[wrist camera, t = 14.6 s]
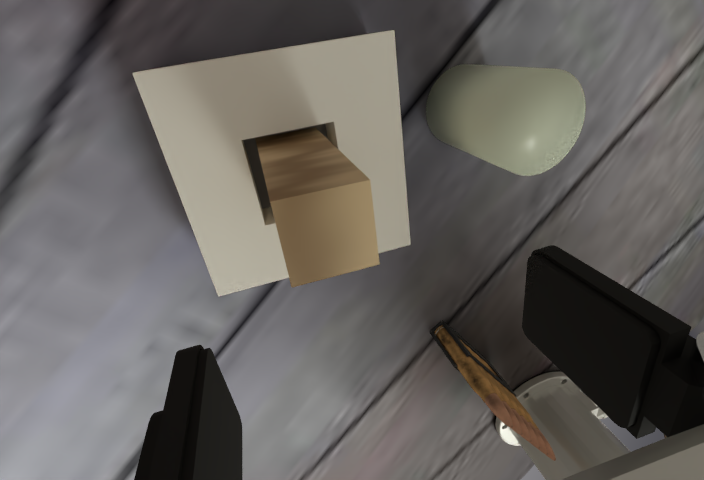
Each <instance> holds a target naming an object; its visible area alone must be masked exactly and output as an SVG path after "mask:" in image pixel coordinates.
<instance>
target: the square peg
mask: <svg viewBox="0 0 704 480" xmlns="http://www.w3.org/2000/svg"><path fill="white" fill-rule="evenodd" d="M255 140H256V144H257V148H258V152H259V157H260V161H261V165H262V169H263V174H264V178H265V182H266V187H267V191H268V195H269V199H270V203H271V207H272V211H273V215H274V219H275V223H276V227H277V231H278V235H279V239H280V243H281V247H282V251H283V255H284V259H285V263H286V267H287V271H288V275H289V279H290V283H291V287H296V286H300V285H303V284H307V283H311V282H315V281H319V280H322V279H326V278H330V277H334V276H338V275H341V274H345V273H349V272H353V271H356V270H360V269H364V268H368V267H372V266H375V265H379V264H380V263H379V254H378V245H377V236H376V227H375V218H374V209H373V200H372V191H371V182H370V179H369V178H368V177H367V176H366V175H365V174H364V173H363V172H362V171H361V170H359V169H358V168H357V167H356V166H355V165H354V164H353V163H352V162H351V161H350V160H349V159H348V158H347V157H346V156H345V155H344V154H343V153H342V152H341V151H340V150H338V149H337V148H336V147H335V146H334V145H333V144H332V143H331V142H330V141H329V140H328V139H327V138H326V137H325V136H324V135H323V134H322V133H321V132H320V131H318V130H317V129H316V128H315V127H313V128H308V129H303V130H297V131H292V132H287V133H281V134H276V135H271V136H266V137H260V138H255Z"/></svg>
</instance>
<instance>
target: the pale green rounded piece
mask: <svg viewBox="0 0 704 480" xmlns="http://www.w3.org/2000/svg"><path fill="white" fill-rule="evenodd" d="M585 110H586V103H585V96H584V92H583V89H582V87H581V85H580V83H579V82H578V80H577V79H576V78H575V77H574V76H573V75H572V74H570V73H569V72H566V71H564V70H560V69H548V68H530V67H512V66H494V65H476V64H461V65H457V66H454V67H452V68H450V69H448V70H447V71H445V72H444V73H443V74H442V75H441V76H440V77H439V78H438V79H437V80H436V82H435V83H434V85H433V86H432V88H431V90H430V93H429V95H428V99H427V103H426V119H427V124H428V126H429V129H430V130H431V132H432V133H433V135H434V136H435V137H436V138H437V139H439V140H440V141H442V142H444V143H446V144H448V145H450V146H453V147H455V148H457V149H460V150H462V151H464V152H466V153H469V154H471V155H473V156H476V157H478V158H480V159H482V160H485V161H487V162H489V163H492V164H494V165H496V166H498V167H501V168H503V169H505V170H508V171H510V172H512V173H514V174H517V175H521V176H532V175H537V174H540V173H543V172H545V171H547V170H549V169H551V168H552V167H554V166H555V165H556V164H558V163H559V162H560V161H561V160H562V159H563V158H564V157H565V156H566V155H567V154H568V152H569V151H570V150H571V148H572V147H573V145H574V144H575V142H576V140H577V138H578V136H579V134H580V132H581V129H582V126H583V123H584V118H585Z"/></svg>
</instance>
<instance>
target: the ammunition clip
mask: <svg viewBox="0 0 704 480" xmlns="http://www.w3.org/2000/svg"><path fill="white" fill-rule="evenodd" d="M430 334H431V335H432V336H433V338H434V339H435V341H436V342H437V343H438V345H439V346H440V348H441V349H442V350H443V352H444V353H445V355H446V356H447V357H448V359H449V360H450V362H451V363H452V365H453V366H454V367H455V368H456V369H457V370H458V371H460V372H461V374H462V375H463V376H464V378H465V379H466V381H467V382H468V383H469V385H470V386H471V388H472V389H473V390H474V391H475V392H476V393H477V394H478V395H479V396H480V397H481V398H482V400H483V401H484V402H485V403H486V404H487V406H488V407H489V408H490V410H491V411H492V412H493V413H494V414H495V415H496V417H497V418H498V419H500V420H501V421H502V422H503V423H504V424H505V425H507V426H508V427H510V428H511V429H512V430H513V431H515V432H516V433H518V434H519V435H520V436H521V437H523V438H524V439H525V440H527V441H528V442H529V443H531V444H532V445H533V446H535V447H536V448H537V449H539V450H540V451H541V452H542V453H544V454H545V455H546V456H548V457H549V458H550V459H552V460H554V461H556V457H555V454H554V452H553V450H552V448H551V446H550V444H549V443H548V441H547V440H546V438H545V437H544V435H543V434H542V433H541V431H540V430H539V428H538V427H537V426H536V424H535V423H534V421H533V419H532V418H531V416H530V414H529V413H528V412H527V410H526V409H525V408H524V407H523V405H522V404H521V403H520V402H519V401H518V399H517V398H516V394H515V393H514V392H513V391H512V389H511V388H510V387H509V386H508V385H507V383H506V382H505V381H504V380H503V378H502V377H501V376H500V375H499V373H498V372H497V371H496V370H495V369H494V367H493V366H492V365H491V364H490V362H488V361H487V360H486V359H485V358H484V357H483V356H482V355H481V354H480V353H478V352H477V351H476V350H475V349H474V348H473V347H472V346H471V345H470V344H468V343H467V342H466V341H465V340H464V339H463V338H462V337H461V336H460V335H458V334H457V333H456V332H455V331H454V330H453V329H452V328H451V327H449V326H448V325H447V324H446V323H445V322H444V321H443V320H442V321H441V322H440V323H439V324H438V325H437V326H435V327H434V328H433V329H432V330H431V331H430Z"/></svg>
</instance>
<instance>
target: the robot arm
mask: <svg viewBox="0 0 704 480" xmlns="http://www.w3.org/2000/svg"><path fill="white" fill-rule="evenodd" d="M522 328H523V331H524V333H525V335H526V336H527V338H528V339H529V340H530V341H531V342H532V343H533V344H535V345H536V346H537V347H538V348H539V349H540V350H541V351H542V352H543V353H544V354H545V355H546V356H547V357H548V358H549V359H550V360H551V361H552V362H553V363H554V364H555V365H556V366H557V367H558V368H559V369H560V370H561V371H562V372H549V373H545V374H542V375H539V376H536V377H534V378H532V379H530V380H529V381H527V382H525V383H524V384H522V385H521V386H520V387H518V388H517V389H516V390H515V391H514V393H515V394H516V398H517V399H518V401H519V402H520V403H521V404H522V405H523V407H524V408H525V409H526V410H527V412H528V413H529V414H530V416H531V418H532V419H533V421H534V423H535V424H536V426H537V427H538V428H539V430H540V431H541V433H542V434H543V435H544V437H545V438H546V440H547V441H548V443H549V444H550V446H551V448H552V450H553V452H554V454H555V457H556V461H554V460H552V459H550V458H549V457H548V456H546V455H545V454H544V453H542V452H541V451H540V450H539V449H537V448H536V447H535V446H533V445H532V444H531V443H529V442H528V441H527V440H525V439H524V438H523V437H521V436H520V435H519V434H518V433H516V432H515V431H513V430H512V429H511V428H510V427H508V426H507V425H505V424H504V423H503V422H502V421H501V420H500V419H498V418H497V417H496V423H495V426H496V430H497V432H498V434H499V436H500V437H501V438H502V440H503V441H504V442H506V443H508V444H511V445H518V446H522V448H523V449H524V450H525V452H526V453H527V455H528V456H529V457H530V459H531V460H532V461H533V463H534V464H535V466H536V467H537V468H538V470H539V471H540V472H541V474H542V475H543V477H544V478H545V479H546V480H704V332H701V333H699V335H698V336H697V338H696V339H694V338H693V337H691V336H689V332H690V329H691V326H689V325H687V324H686V323H684V322H682V321H681V320H679V319H677V318H676V317H674V316H672V315H671V314H669V313H667V312H666V311H664V310H662V309H661V308H659V307H657V306H655V305H654V304H652V303H650V302H649V301H647V300H645V299H644V298H642V297H640V296H639V295H637V294H635V293H634V292H632V291H630V290H629V289H627V288H625V287H624V286H622V285H620V284H619V283H617V282H615V281H614V280H612V279H610V278H609V277H607V276H605V275H604V274H602V273H600V272H599V271H597V270H595V269H594V268H592V267H590V266H589V265H587V264H585V263H583V262H582V261H580V260H578V259H577V258H575V257H573V256H572V255H570V254H568V253H567V252H565V251H563V250H562V249H560V248H558V247H556V246H548V247H544V248H541V249H537V250H535V251H533V252H532V254H531V257H529V258H528V262H527V274H526V286H525V298H524V310H523V322H522ZM582 391H583V392H584V393H585V394H586V395H587V396H585V395H584V394H583V393H582ZM606 417H609V418H610V419H611V420H612V421H613V422H614V423H616V424H617V425H618V426H620V427H622V428H626V429H627V430H628V431H629V432H630V433H631V434H632V435H633V436H634V437H635V438H636V439H637V438H640V437H643V436H645V435H647V434H650V433H653V432H654V431H655V429H656V427H657V428H658V429H659V430H660V431H661V432H662V433H664V437H665V439H663V440H660V441H658V442H655V443H653V444H650V445H648V446H645V447H642V448H640V449H637V450H635V451H632V452H631V451H630V450H629V449H628V448H627V447H626V446H624V444H623V443H622V442H621V441H620V440H619V439H618V438H617V437H616V436H615V435H614V434H613V433H612V432H611V431H610V430H609V429H608V428H607V427H606V426H605V425H604V424H603V423H602V422H601V421H600V420H599V419H604V418H606ZM134 480H242V423H241V419H240V415H239V413H238V411H237V408H236V406H235V404H234V401H233V399H232V396H231V394H230V392H229V389H228V387H227V385H226V382H225V380H224V378H223V375H222V373H221V371H220V368H219V366H218V364H217V361H216V359H215V357H214V354H213V352H212V350H211V349H210V348H207V349H204V348H203V347H202V346H201V345H197V346H193V347H190V348H186V349H183V350H179V351H177V353H176V356H175V360H174V365H173V369H172V374H171V378H170V383H169V387H168V392H167V396H166V401H165V405H164V410H163V411H160V412H156V413H154V414H153V415H152V416H151V418H150V421H149V424H148V428H147V432H146V436H145V439H144V443H143V447H142V451H141V455H140V459H139V463H138V467H137V471H136V475H135V479H134Z"/></svg>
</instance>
